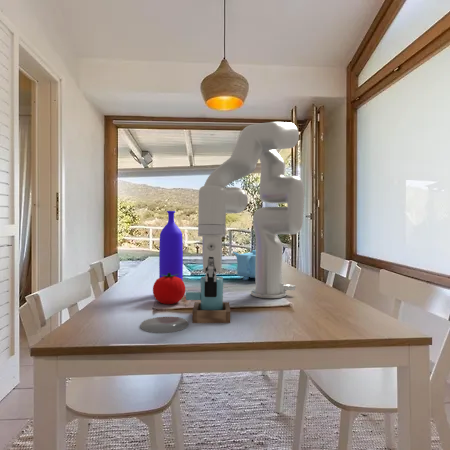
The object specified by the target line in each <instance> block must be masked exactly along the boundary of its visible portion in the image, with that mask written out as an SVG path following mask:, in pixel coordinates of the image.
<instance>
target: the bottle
mask: <svg viewBox="0 0 450 450" xmlns="http://www.w3.org/2000/svg"><path fill="white" fill-rule="evenodd" d="M166 213H167V214H168V217H167V219H168V221H167V223H166V224H165V225H164V227H163V228H162V229H161V231H160V233H159V247H158V248H159V252H158V253H159V254H158V256H159V257H158V259H159V263H158V266H159V268H158V269H159V271H158V272H159V273H158V274H159V278H160V277H164V276H162V275H166V276H167V274H168V273H171V276H172V275H175V276H176V277H178V278H181V279H182V281H183V280H184V276H183V275H184V273H183V272H184V271H183V270H184V267H183V266H184V263H183V262H184V258H183V257H184V254H183V253H184V249H183V248H184V247H183V232H182V231H181V229H180V228H179V227H178V225H177V224H176V222H175V213H176V211H175V210H167V211H166ZM160 274H161V275H160ZM176 274H178V275H176ZM159 278H158V279H159ZM183 282H184V281H183Z"/></svg>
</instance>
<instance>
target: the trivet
mask: <svg viewBox="0 0 450 450" xmlns="http://www.w3.org/2000/svg"><path fill="white" fill-rule="evenodd" d="M187 327H189V321H188V320H187V319H185V318H183V317H178V316H159V317H158V316H157V317H156V316H155V317H153V318H148V319H144V320H143V321H142V322H141V323H140V329H141V330H143V331H145V332H148V333H153V334H154V333H155V334H168V333H176V332H180V331H183V330H185V329H186V328H187Z"/></svg>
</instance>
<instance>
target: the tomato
mask: <svg viewBox="0 0 450 450" xmlns="http://www.w3.org/2000/svg"><path fill="white" fill-rule="evenodd" d="M160 275H161V274H160ZM176 275H178V274H176ZM162 276H164V277H160V278H157V279H156V280H155V282H153V286H152V294H153V297H154V298H155V300H156V301H158V302H159V303H161V304H162V305H173V304H177V303H179V302H180V301H181V300H182V299H183V298H184V297H185V295H186V286H185V282H184V281H182V279H181V278H178V277H176V276H175V275H172V276H171V273H168V274H167V276H166V275H162Z"/></svg>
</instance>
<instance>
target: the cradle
mask: <svg viewBox="0 0 450 450" xmlns="http://www.w3.org/2000/svg"><path fill="white" fill-rule="evenodd" d="M191 320H192V324H231V305H230V302H229V301H227V302H226V301H223V310H201V301H195V302H194V305H193V308H192V319H191Z"/></svg>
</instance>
